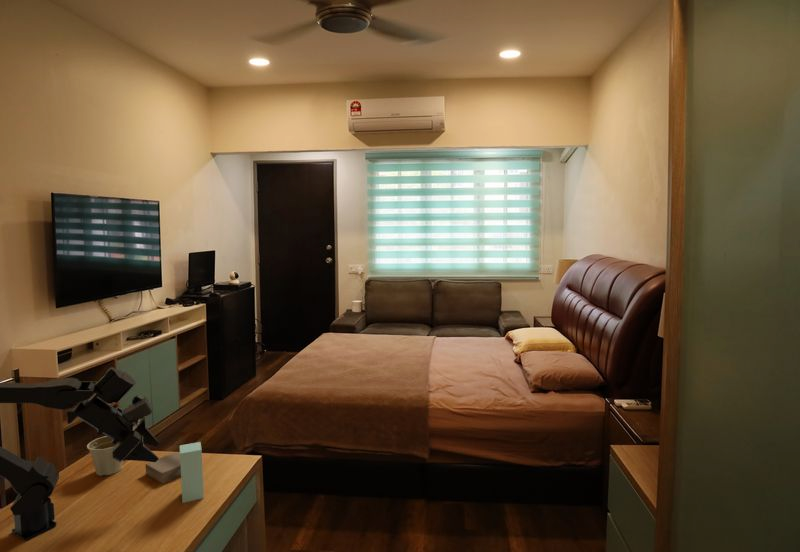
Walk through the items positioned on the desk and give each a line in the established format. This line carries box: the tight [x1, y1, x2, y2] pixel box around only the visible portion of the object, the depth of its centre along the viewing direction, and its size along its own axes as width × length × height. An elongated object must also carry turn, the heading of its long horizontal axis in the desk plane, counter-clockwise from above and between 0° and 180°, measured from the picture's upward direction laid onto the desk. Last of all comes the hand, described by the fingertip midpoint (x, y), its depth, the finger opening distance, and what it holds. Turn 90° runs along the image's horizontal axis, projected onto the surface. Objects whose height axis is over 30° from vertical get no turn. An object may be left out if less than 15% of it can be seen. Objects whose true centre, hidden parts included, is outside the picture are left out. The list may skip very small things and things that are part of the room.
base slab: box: [145, 451, 181, 484], centre depth 138 cm, size 9×9×3 cm
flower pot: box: [86, 435, 123, 477], centre depth 138 cm, size 9×9×9 cm
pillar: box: [179, 441, 205, 504], centre depth 125 cm, size 5×5×13 cm
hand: (157, 452), depth 121 cm, fingers open, 9 cm apart
